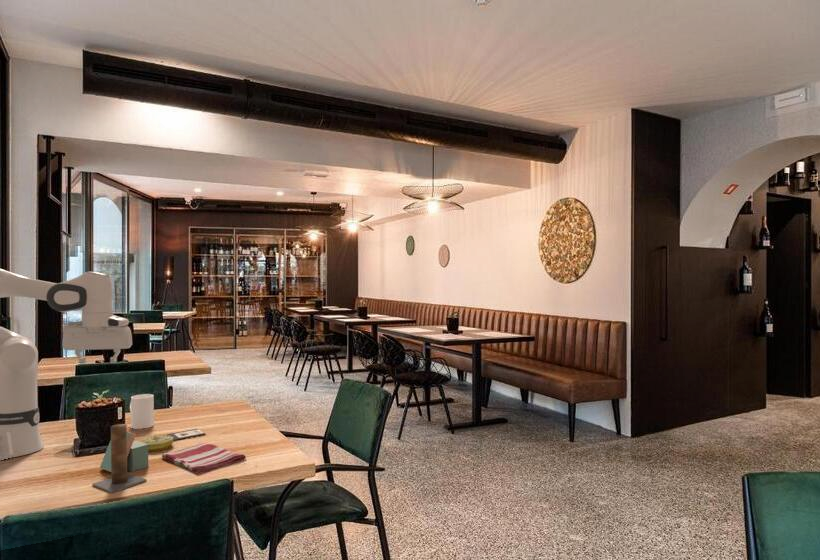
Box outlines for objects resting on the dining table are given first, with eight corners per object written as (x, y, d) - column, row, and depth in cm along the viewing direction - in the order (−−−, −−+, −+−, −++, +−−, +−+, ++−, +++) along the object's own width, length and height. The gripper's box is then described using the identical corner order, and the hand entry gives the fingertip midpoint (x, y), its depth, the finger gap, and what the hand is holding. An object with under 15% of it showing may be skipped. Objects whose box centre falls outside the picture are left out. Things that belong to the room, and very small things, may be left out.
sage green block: (132, 471, 162) (132, 448, 162) (113, 465, 168) (112, 442, 168) (148, 466, 166) (148, 444, 166) (128, 460, 172) (128, 438, 172)
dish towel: (197, 476, 159) (197, 467, 159) (159, 460, 174) (159, 452, 174) (246, 461, 172) (246, 452, 172) (207, 446, 187) (207, 439, 187)
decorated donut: (172, 441, 192) (172, 431, 192) (174, 450, 182) (174, 439, 182) (140, 446, 187) (140, 435, 187) (140, 455, 178) (140, 443, 178)
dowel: (109, 484, 150) (108, 428, 150) (114, 479, 154) (113, 424, 154) (124, 483, 151) (123, 427, 151) (129, 478, 155) (128, 423, 155)
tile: (115, 473, 158) (130, 432, 162) (98, 468, 163) (114, 428, 167) (120, 474, 160) (136, 433, 164) (104, 468, 165) (119, 429, 169)
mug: (121, 426, 212) (121, 396, 212) (142, 421, 220) (142, 392, 220) (138, 430, 206) (137, 399, 206) (159, 425, 213) (158, 395, 213)
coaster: (111, 493, 146) (111, 491, 146) (92, 485, 151) (92, 483, 151) (146, 481, 154) (146, 479, 154) (127, 474, 160) (127, 472, 160)
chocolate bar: (146, 438, 194) (197, 428, 206) (147, 440, 194) (197, 431, 206) (154, 443, 188) (205, 433, 199) (154, 446, 188) (205, 436, 199)
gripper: (58, 322, 170) (58, 365, 170) (127, 321, 174) (127, 363, 174) (67, 320, 176) (67, 362, 176) (133, 319, 180) (134, 360, 180)
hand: (98, 363), depth 175 cm, fingers open, 8 cm apart
